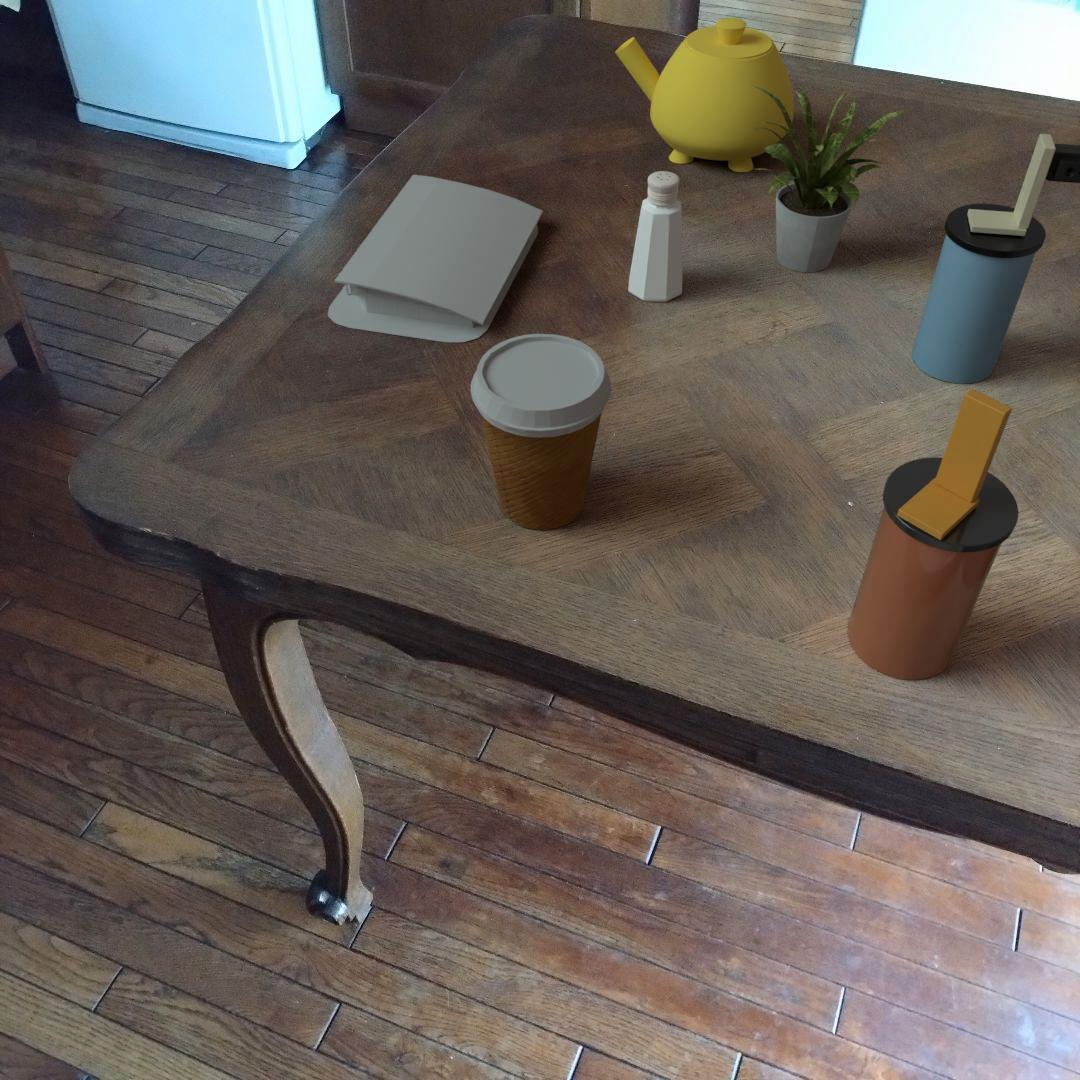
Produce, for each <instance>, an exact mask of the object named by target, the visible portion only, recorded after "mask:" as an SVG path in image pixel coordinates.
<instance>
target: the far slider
mask: <svg viewBox="0 0 1080 1080" xmlns="http://www.w3.org/2000/svg"><path fill="white" fill-rule="evenodd" d="M1054 144H1055V142H1054V139H1053V136H1052V134H1050V133H1040V134H1039V135H1038V138H1037V141H1036V144H1035V147H1034V150H1033V153H1032V156H1031V159H1030V162H1029V165H1028V168H1027V170H1026V174H1025V177H1024V180H1023V183H1022V186H1021V189H1020V192H1019V195H1018V197H1017V200H1016V204H1015V206H1014V208H1015V210H1014V212H1003V211H989V210H976V209H969V210H968V214H967V215H968V220H969V225H970V229H971V232H977V233H990V234H1003V235H1016V236H1025V234H1026V232H1027V230H1026V229H1028V227H1029V224H1030V221H1031V219H1032V217H1034V216H1033V215H1034V213H1035V210H1036V206H1037V204H1038V201H1039V198H1040V196H1041V193H1042V190H1043V187H1044V184H1045V181H1046V176H1047V173H1048V170H1049V167H1050V164H1051V161H1052V159H1053V156H1054V153H1055V150H1056V148H1055V145H1054Z"/></svg>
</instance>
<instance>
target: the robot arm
mask: <svg viewBox="0 0 1080 1080" xmlns="http://www.w3.org/2000/svg"><path fill="white" fill-rule="evenodd" d="M1054 145H1055V148H1056V150H1055V153H1054V156H1053V159H1052V161H1051V164H1050V167H1049V170H1048V173H1047V176H1046V179H1045V181H1048V182H1056V183H1057V182H1058V183H1071V184H1072V183H1073V184H1080V144H1069V143H1054Z"/></svg>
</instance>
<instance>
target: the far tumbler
mask: <svg viewBox="0 0 1080 1080" xmlns="http://www.w3.org/2000/svg"><path fill="white" fill-rule="evenodd" d="M969 209H976V210H989V211H1003V212H1014V210H1015V207H1011V206H1007V205H1002V204H996V203H995V204H994V203H971V204H965V205H961V206H959V207H957V208H955V209H953V210H951V211H950V212H949V213H948V215H947V216H946V219H945V223H944V232H945V237H944V240H943V244H942V247H941V250H940V254H939V257H938V261H937V264H936V266H935V267H936V268H935V271H934V275H933V278H932V282H931V285H930V288H929V292H928V295H927V299H926V302H925V306H924V309H923V312H922V316H921V320H920V323H919V326H918V330H917V333H916V336H915V339H914V344H913V347H912V350H911V357H912V360H913V363H914V364H915V366H917V368H918V369H919V370H920V371H921V372H923V373H925V374H926V375H928V376H930V377H931V378H934V379H937V380H939V381H942V382H947V383H951V384H959V385H961V384H962V385H963V384H974V383H977V382H981V381H983V380H985V379H987V378H989V376H990V375H991V374H992V373H993V371H994V369H995V366H996V363H997V360H998V359H999V358H998V357H999V356H1000V352H1001V350H1002V347H1003V343H1004V342H1005V338H1006V336H1007V332H1008V330H1009V327H1010V325H1011V322H1012V319H1013V315H1014V313H1015V311H1016V308H1017V305H1018V302H1019V299H1020V297H1021V294H1022V292H1023V288H1024V285H1025V283H1026V281H1027V278H1028V274H1029V273H1030V269H1031V266H1032V264H1033V261H1034V258H1035V255H1036V252H1038V251H1039V250H1041V249H1042V247H1043V245H1044V243H1045V239H1046V236H1047V233H1046V229H1045V227H1044V225H1043V224H1042V223H1041V222H1040V220H1039V219H1037V218H1035V217H1034V216H1032V219H1031V221H1030V224H1029V227H1028V229H1026V230H1027V232H1026V234H1025V236H1016V235H1003V234H990V233H977V232H971V229H970V225H969V220H968V215H967V214H968V210H969Z"/></svg>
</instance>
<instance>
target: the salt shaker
mask: <svg viewBox="0 0 1080 1080" xmlns="http://www.w3.org/2000/svg"><path fill="white" fill-rule="evenodd" d="M680 182H681V179H680V177H679V175H678V174H676V173H674V172H672V171H668V170H667V171H666V170H660V171H655V172H652V173H651V174H649V175H648V177H647V197H646V198H645V199H644V198H643V199H642V202H641V206H640V213H639V218H638V224H637V229H636V236H635V241H634V248H633V254H632V260H631V265H630V271H629V277H628V288H627V291H628V293H630V294H631V295H633V296H635V297H637V298H638V299H640V300H642V301H643V302H653V303H656V302H657V303H667V302H668V301H671V300H673V299H675V298H677V297H679V296H681V295H683V225H682V224H683V219H682V218H683V214H682V211H683V210H682V201H681V200H679V199H678V195H679V186H680Z"/></svg>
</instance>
